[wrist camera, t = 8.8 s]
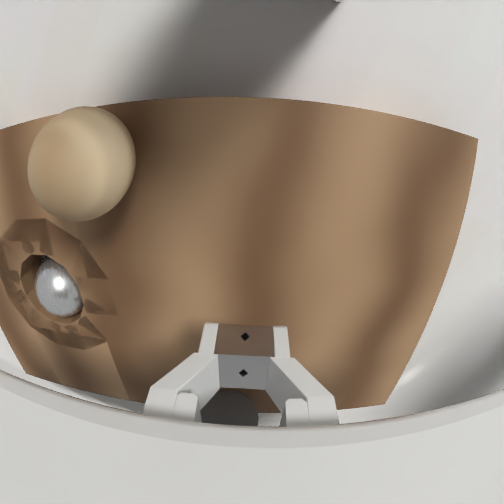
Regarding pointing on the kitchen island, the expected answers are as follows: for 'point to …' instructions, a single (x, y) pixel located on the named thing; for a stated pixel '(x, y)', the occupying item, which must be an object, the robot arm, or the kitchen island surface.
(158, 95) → the kitchen island surface
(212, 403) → the black rubber ball
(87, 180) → the beech ball
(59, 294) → the steel ball
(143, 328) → the board
